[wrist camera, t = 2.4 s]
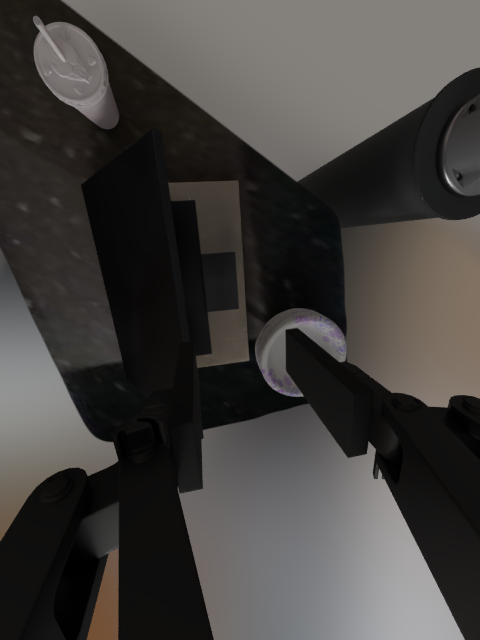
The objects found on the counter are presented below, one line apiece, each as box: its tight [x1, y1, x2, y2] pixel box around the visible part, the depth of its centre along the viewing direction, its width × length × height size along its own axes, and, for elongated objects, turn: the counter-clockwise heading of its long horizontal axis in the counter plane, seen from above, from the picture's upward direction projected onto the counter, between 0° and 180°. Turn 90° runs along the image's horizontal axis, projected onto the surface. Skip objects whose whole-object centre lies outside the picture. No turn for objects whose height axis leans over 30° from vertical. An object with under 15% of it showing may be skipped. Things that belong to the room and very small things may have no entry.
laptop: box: [168, 181, 249, 368], centre depth 41 cm, size 21×30×2 cm
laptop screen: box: [81, 128, 204, 439], centre depth 31 cm, size 21×30×1 cm
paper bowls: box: [255, 308, 347, 397], centre depth 44 cm, size 15×15×8 cm
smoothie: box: [33, 16, 119, 129], centre depth 27 cm, size 6×6×14 cm
